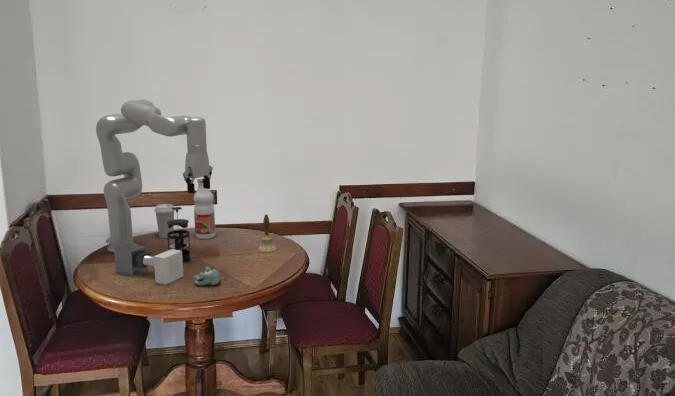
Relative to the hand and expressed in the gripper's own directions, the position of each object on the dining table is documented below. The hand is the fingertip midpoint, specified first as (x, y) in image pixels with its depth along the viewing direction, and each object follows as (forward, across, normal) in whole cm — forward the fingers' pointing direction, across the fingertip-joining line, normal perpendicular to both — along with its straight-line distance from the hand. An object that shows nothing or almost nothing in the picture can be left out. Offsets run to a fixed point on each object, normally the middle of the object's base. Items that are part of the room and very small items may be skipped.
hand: (199, 190), depth 245 cm
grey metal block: (+31, +20, -20) cm, 42 cm away
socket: (+31, +20, 0) cm, 37 cm away
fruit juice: (+31, -32, -24) cm, 51 cm away
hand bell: (+32, -29, +13) cm, 45 cm away
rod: (+28, +20, -16) cm, 38 cm away
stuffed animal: (+32, +16, +15) cm, 38 cm away
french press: (+31, 0, -12) cm, 34 cm away
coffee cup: (+31, -24, -41) cm, 57 cm away
